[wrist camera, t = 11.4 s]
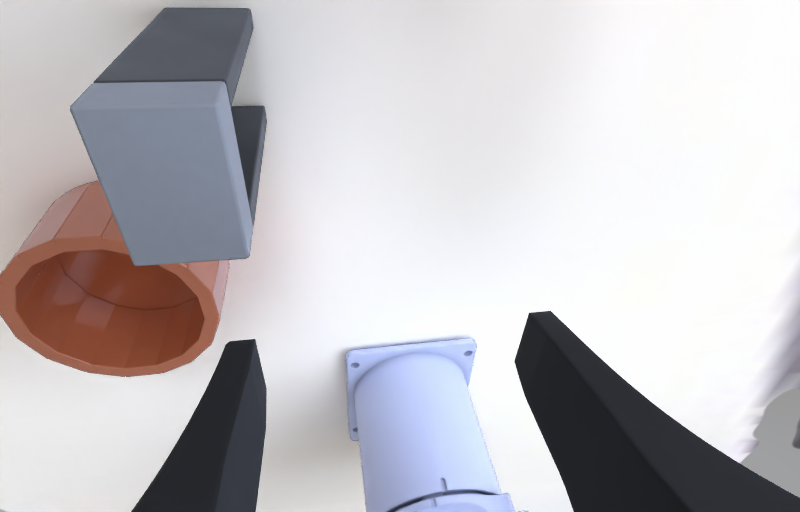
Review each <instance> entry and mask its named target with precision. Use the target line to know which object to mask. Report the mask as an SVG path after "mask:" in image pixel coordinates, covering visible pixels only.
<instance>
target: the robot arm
mask: <svg viewBox="0 0 800 512" xmlns="http://www.w3.org/2000/svg"><path fill="white" fill-rule="evenodd" d="M476 348H477V345H476V342H475V340H474V339H472V338H466V339H456V340H446V341H436V342H427V343H417V344H407V345H397V346H387V347H377V348H368V349H358V350H351V351H349V352H348V353H347V354H346V374H347V394H348V415H349V434H350V439H351V440H353V441H359V447H360V456H361V466H362V475H363V485H364V494H365V504H366V512H515V509H514V507H513V504H512V501H511V498H510V495H509V493H504V494H502V492H501V489H500V486H499V483H498V480H497V477H496V473H495V470H494V467H493V464H492V461H491V458H490V455H489V452H488V449H487V446H486V443H485V440H484V436H483V433H482V430H481V427H480V424H479V421H478V418H477V415H476V412H475V409H474V406H473V403H472V400H471V396H470V393H469V390H468V384H469V380H470V375H471V371H472V366H473V361H474V357H475V352H476ZM515 364H516V368H517V371H518V375H519V378H520V382H521V385H522V388H523V391H524V394H525V397H526V399H527V401H528V404H529V406H530V408H531V411H532V413H533V415H534V417H535V420H536V422H537V424H538V426H539V429H540V431H541V433H542V435H543V437H544V440H545V442H546V444H547V446H548V448H549V451H550V453H551V455H552V457H553V459H554V462H555V464H556V466H557V468H558V471H559V473H560V475H561V478H562V480H563V483H564V485H565V488H566V490H567V493H568V496H569V499H570V502H571V505H572V508H573V511H574V512H800V498H799V497H797V496H795V495H793V494H791V493H789V492H787V491H786V490H784V489H782V488H780V487H779V486H777V485H775V484H774V483H772V482H770V481H768V480H767V479H765V478H763V477H761V476H759V475H758V474H756V473H754V472H753V471H751V470H749V469H748V468H746V467H744V466H743V465H741V464H739V463H738V462H736V461H735V460H733V459H731V458H730V457H728V456H727V455H725V454H724V453H722V452H721V451H719V450H717V449H716V448H714V447H713V446H711V445H710V444H708V443H707V442H705V441H704V440H702V439H701V438H699V437H698V436H696V435H695V434H693V433H692V432H690V431H689V430H688V429H686V428H685V427H684V426H682V425H681V424H679V423H678V422H677V421H675V420H674V419H673V418H671V417H670V416H669V415H667V414H666V413H664V412H663V411H662V410H661V409H659V408H658V407H657V406H655V405H654V404H653V403H652V402H650V401H649V400H648V399H647V398H645V397H644V396H643V395H642V394H641V393H639V392H638V391H637V390H636V389H634V388H633V387H632V386H631V385H630V384H629V383H627V382H626V381H625V380H624V379H623V378H622V377H620V376H619V375H618V374H617V373H616V372H615V371H614V370H612V369H611V368H610V367H609V366H608V365H607V364H606V363H605V362H604V361H603V360H601V359H600V358H599V357H598V356H597V355H596V354H595V353H594V352H593V351H592V350H591V349H590V348H589V347H588V346H586V345H585V344H584V343H583V342H582V341H581V340H580V339H579V338H578V337H577V336H576V335H575V334H574V333H573V332H572V331H571V330H570V329H569V328H568V327H567V326H566V325H565V324H564V323H562V322H561V321H560V320H559V319H558V318H557V317H556V316H555V315H554V314H553V313H552V312H551V311H545V312H535V313H529V315H528V319H527V322H526V325H525V329H524V332H523V335H522V339H521V342H520V345H519V348H518V352H517V355H516V358H515ZM265 431H266V385H265V380H264V376H263V372H262V367H261V363H260V359H259V354H258V350H257V345H256V341H255V339H251V340H240V341H230V342H229V343H227V344H226V346H225V348H224V351H223V353H222V356H221V358H220V360H219V363H218V365H217V367H216V370H215V372H214V374H213V376H212V378H211V380H210V382H209V384H208V386H207V389H206V391H205V393H204V395H203V396H202V398H201V400H200V402H199V404H198V406H197V408H196V410H195V412H194V413H193V415H192V417H191V419H190V421H189V423H188V424H187V426H186V428H185V430H184V431H183V433H182V435H181V436H180V438H179V440H178V441H177V443H176V445H175V446H174V448H173V450H172V451H171V453H170V455H169V456H168V458H167V460H166V461H165V463H164V464H163V466H162V468H161V469H160V471H159V472H158V474H157V475H156V477H155V478H154V480H153V481H152V483H151V484H150V486H149V487H148V489H147V490H146V492H145V493H144V494H143V496H142V497H141V499H140V500H139V502H138V503H137V504H136V506H135V507H134V509H133V510H132V511H131V512H255V511H256V503H257V495H258V488H259V480H260V472H261V464H262V456H263V448H264V439H265ZM519 512H529V511H519Z"/></svg>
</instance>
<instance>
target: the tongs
mask: <svg viewBox="0 0 800 512" xmlns="http://www.w3.org/2000/svg"><path fill="white" fill-rule="evenodd" d="M252 31H253V22H252V15H251V10H250V9H248V8H164V9H163V10H162V11H161V12H160V13H159V14H158V15H157V17H156V18H155V19H154V20H153V21H152V22H151V23H150V24H149V25H148V26H147V27H146V28H145V29H144V30H143V31H142V32H141V33H140V34H139V35H138V36H137V37H136V38H135V39H134V40H133V41H132V42H131V44H130V45H129V46H128V47H127V48H126V49H125V50H124V51H123V52H122V53H121V54H120V55H119V56H118V57H117V58H116V59H115V60H114V61H113V62H112V63H111V64H110V65H109V66H108V67H107V68H106V69H105V71H104V72H103V73H102V74H101V75H100V76H99V77H98V78H97V79H96V80H95V81H94V83H93V84H91V85H90V86H89V87H88V88H87V89H86V90H85V91H84V92H83V93H82V95H81V96H80V97H79V98H78V99H77V100H76V101H75V102H74V103H73V104H72V105H71V106H70V111H71V113H72V116H73V118H74V120H75V123H76V125H77V128H78V130H79V133H80V135H81V138H82V140H83V142H84V145H85V147H86V150H87V152H88V155H89V157H90V159H91V162H92V164H93V167H94V169H95V172H96V174H97V177H98V179H99V181H100V184H101V186H102V189H103V191H104V194H105V196H106V198H107V201H108V203H109V206H110V208H111V211H112V213H113V216H114V218H115V220H116V223H117V225H118V228H119V230H120V233H121V235H122V237H123V240H124V242H125V245H126V247H127V250H128V252H129V254H130V257H131V259H132V262H133V264H134V265H135V266H147V265H161V264H176V263H190V262H204V261H218V260H232V259H246V258H249V256H250V249H251V241H252V234H253V226H254V219H255V211H256V203H257V195H258V188H259V180H260V172H261V164H262V156H263V148H264V140H265V132H266V124H267V119H266V112H265V107H264V106H240V107H231V105H232V101H233V98H234V94H235V91H236V87H237V84H238V80H239V77H240V73H241V70H242V66H243V63H244V59H245V56H246V52H247V49H248V45H249V42H250V38H251V35H252Z"/></svg>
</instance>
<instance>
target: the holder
mask: <svg viewBox="0 0 800 512" xmlns="http://www.w3.org/2000/svg"><path fill="white" fill-rule="evenodd" d="M228 271H229V260H218V261H204V262H190V263H176V264H161V265H147V266H135V265H134V264H133V262H132V259H131V257H130V254H129V252H128V250H127V247H126V245H125V242H124V240H123V237H122V235H121V233H120V230H119V228H118V225H117V223H116V220H115V218H114V216H113V213H112V211H111V208H110V206H109V203H108V201H107V198H106V196H105V194H104V191H103V189H102V186H101V184H100V181H96V182H91V183H87V184H84V185H81V186H79V187H76V188H74V189H72V190H70V191H68V192H66V193H65V194H63V195H62V196H61V197H59V198H58V199H57V200H56V201H54V203H53V204H52V205H51V207H50V208H49V209H48V211H47V212H46V213H45V215H44V216H43V217H42V219H41V220H40V221H39V223H38V224H37V225H36V227H35V228H34V229H33V231H32V232H31V233H30V235H29V236H28V238H27V239H26V240H25V242H24V243H23V244H22V246H21V247H20V248H19V250H18V251H17V252H16V254H15V255H14V257H13V258H12V259H11V261H10V262H9V263H8V265H7V266H6V267H5V269H4V270H3V271H2V273H1V274H0V315H1V317H2V318H3V320H4V321H5V322H6V324H7V325H8V327H9V328H10V330H11V331H12V332H13V334H14V335H15V337H17V339H19V340H20V341H22V342H23V343H25V344H26V345H28V346H29V347H30V348H32V349H33V350H35V351H36V352H38V353H39V354H41V355H42V356H44V357H45V358H47V359H50V360H52V361H55V362H58V363H61V364H64V365H66V366H69V367H72V368H75V369H78V370H81V371H84V372H88V373H95V374H104V375H112V376H120V377H125V376H126V377H132V376H141V375H151V374H160V373H165V372H167V371H170V370H172V369H175V368H178V367H180V366H183V365H185V364H188V363H191V362H192V361H193V360H194V359H196V358H197V357H198V356H199V355H200V354H201V353H202V352H203V351H204V350H205V349H207V348H208V347H209V346H210V345H211V344H212V342H213V340H214V337H215V334H216V331H217V328H218V325H219V321H220V317H221V311H222V305H223V300H224V294H225V288H226V283H227V277H228Z"/></svg>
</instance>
